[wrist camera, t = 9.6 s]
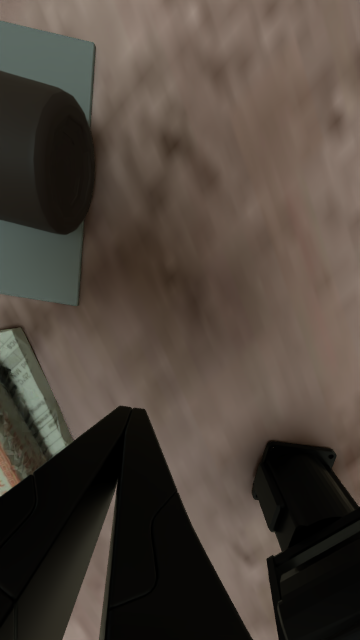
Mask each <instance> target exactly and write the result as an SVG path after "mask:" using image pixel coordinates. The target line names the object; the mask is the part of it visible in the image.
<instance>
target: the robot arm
mask: <svg viewBox="0 0 360 640" xmlns="http://www.w3.org/2000/svg"><path fill="white" fill-rule="evenodd" d="M272 447H274V448H272ZM335 459H336V453H335V452H334V451H333V450H332V449H328V448H320V447H312V446H305V445H297V444H289V443H281V442H274V441H272V442H269V443H268V444H267V446H266V449H265V452H264V455H263V458H262V461H261V463H260V464H259V467H258V470H257V474H256V477H255V480H254V483H253V485H254V487H253V490H252V495H253V498H254V499H255V500H259V503H260V506H261V509H262V511H263V514H264V517H265V520H266V523H267V526H268V528H269V530H270V531H271V532H275V534H276V537H277V539H278V542H279V545H280V548H281V550H282V552H281V553H279V554H277V555H275V556H273V555H272V556H270V557H269V558H267V566H268V575H269V581H270V588H271V594H272V600H273V606H274V613H275V619H276V625H277V631H278V638H279V640H360V507H359V506H358V505H357V503H356V502H355V501H354V499H353V498H352V496H351V495H350V494H349V492H348V491H347V490H346V488H345V487H344V486H343V484H342V483H341V481H340V480H339V479H338V477H337V476H336V475H335V473H334V472H333V471H332V466H333V464H334V461H335ZM117 482H118V483H117ZM116 485H117V491H116V499H115V507H114V516H113V524H112V533H111V541H110V550H109V558H108V567H107V575H106V584H105V592H104V601H103V609H102V618H101V626H100V635H99V640H253V639H252V637H251V636H250V634H249V632H248V630H247V629H246V627H245V625H244V623H243V621H242V619H241V618H240V616H239V614H238V612H237V610H236V608H235V606H234V604H233V603H232V601H231V599H230V597H229V595H228V593H227V591H226V590H225V588H224V586H223V584H222V582H221V580H220V578H219V577H218V575H217V573H216V571H215V569H214V567H213V565H212V563H211V562H210V560H209V558H208V556H207V554H206V552H205V550H204V548H203V546H202V544H201V542H200V540H199V538H198V536H197V534H196V532H195V530H194V528H193V526H192V524H191V522H190V519H189V517H188V515H187V512H186V510H185V508H184V505H183V503H182V500H181V498H180V495H179V493H178V492H177V488H176V486H175V483H174V480H173V478H172V475H171V473H170V470H169V468H168V465H167V463H166V460H165V458H164V455H163V453H162V450H161V448H160V445H159V442H158V440H157V437H156V435H155V432H154V430H153V427H152V425H151V422H150V420H149V417H148V415H147V412H146V410H145V409H141V408H133V409H132V408H131V407H127V406H119V407H117V408H116V409H115V410H113V411H112V412H111V413H109V414H108V415H107V416H106V417H104V418H103V419H102V420H100V421H99V422H98V423H96V424H95V425H94V426H92V427H91V428H90V429H89V430H87V431H86V432H85V433H83V434H82V435H81V436H79V437H78V438H77V439H76V440H74V441H73V442H72V443H70V444H69V445H68V446H66V447H65V448H64V449H62V450H61V451H60V452H59V453H57V454H56V455H55V456H53V457H52V458H51V459H49V460H48V461H47V462H45V463H44V464H43V465H42V466H40V467H39V468H38V469H36V470H35V471H34V472H33V475H32V474H30V475H28V476H27V477H26V478H24V479H23V480H22V481H20V482H19V483H18V484H17V485H15V486H14V487H12V488H11V489H10V490H8V491H7V492H6V493H4V494H3V495H2V496H0V640H62V639H63V636H64V633H65V630H66V627H67V625H68V622H69V619H70V616H71V613H72V611H73V608H74V605H75V602H76V599H77V596H78V594H79V591H80V588H81V585H82V582H83V579H84V577H85V574H86V571H87V568H88V565H89V562H90V560H91V557H92V554H93V551H94V548H95V545H96V543H97V540H98V537H99V534H100V531H101V529H102V526H103V523H104V520H105V517H106V514H107V512H108V509H109V506H110V503H111V500H112V497H113V495H114V492H115V489H116Z"/></svg>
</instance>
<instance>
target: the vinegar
mask: <svg viewBox="0 0 360 640" xmlns="http://www.w3.org/2000/svg"><path fill="white" fill-rule="evenodd" d="M94 169H95V161H94V147H93V141H92V136H91V131H90V127H89V124H88V121H87V119H86V116H85V113H84V111H83V110H82V108H81V107H80V105H79V104H78V102H77V101H76V99H75V98H74V96H72V95H71V94H69V93H67V92H66V91H64V90H62V89H60V88H58V87H55V86H52V85H48V84H45V83H41V82H38V81H35V80H31V79H28V78H24V77H21V76H17V75H14V74H10V73H7V72H4V71H0V220H3V221H7V222H11V223H15V224H19V225H23V226H27V227H31V228H35V229H38V230H42V231H46V232H50V233H54V234H60V235H67V234H69V233H71V232H73V231H75V230H76V229H77V228H78V227H79V226H80V224H81V223H82V222H83V220H84V218H85V216H86V214H87V212H88V209H89V205H90V201H91V198H92V192H93V185H94Z"/></svg>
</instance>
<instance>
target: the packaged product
mask: <svg viewBox="0 0 360 640" xmlns="http://www.w3.org/2000/svg"><path fill="white" fill-rule="evenodd" d="M72 442H73V440H72V438H71V435H70V433H69V431H68V428H67V426H66V423H65V421H64V419H63V416H62V414H61V411H60V409H59V407H58V404H57V402H56V400H55V398H54V395H53V393H52V391H51V389H50V386H49V384H48V382H47V380H46V378H45V376H44V374H43V372H42V370H41V367H40V365H39V363H38V361H37V359H36V357H35V355H34V353H33V351H32V349H31V346H30V344H29V342H28V340H27V338H26V336H25V334H24V332H23V331H22V329H21V327H20V328H12V329H5V330H0V496H2V495H3V494H4V493H6V492H7V491H8V490H10V489H11V488H12V487H14V486H15V485H17V484H18V483H19V482H20V481H22V480H23V479H24V478H26V477H27V476H28V475H30V474H32V475H33V472H34V471H35V470H36V469H38V468H39V467H40V466H42V465H43V464H44V463H45V462H47V461H48V460H49V459H51V458H52V457H53V456H55V455H56V454H57V453H59V452H60V451H61V450H62V449H64V448H65V447H66V446H68V445H69V444H70V443H72Z"/></svg>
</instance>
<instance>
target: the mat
mask: <svg viewBox="0 0 360 640" xmlns="http://www.w3.org/2000/svg"><path fill="white" fill-rule="evenodd" d="M94 62H95V44H94V43H93V42H89V41H85V40H80V39H76V38H72V37H68V36H63V35H59V34H55V33H50V32H46V31H42V30H38V29H33V28H29V27H25V26H21V25H16V24H12V23H8V22H3V21H0V71H4V72H7V73H10V74H14V75H17V76H21V77H24V78H28V79H31V80H35V81H38V82H41V83H45V84H48V85H52V86H55V87H58V88H60V89H62V90H64V91H66V92H67V93H69V94H71V95H72V96H74V98H75V99H76V101H77V102H78V104H79V105H80V107H81V108H82V110H83V111H84V113H85V116H86V119H87V121H88V124H89V127H90V123H91V108H92V92H93V77H94ZM83 229H84V220H83V222H82V223H81V224H80V226H79V227H78V228H77V229H76V230H75V231H73V232H71V233H69V234H67V235H60V234H54V233H50V232H46V231H42V230H38V229H35V228H31V227H27V226H23V225H19V224H15V223H11V222H7V221H3V220H0V294H5V295H11V296H17V297H23V298H30V299H36V300H42V301H48V302H55V303H61V304H67V305H73V306H78V305H79V290H80V275H81V259H82V244H83Z"/></svg>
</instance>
